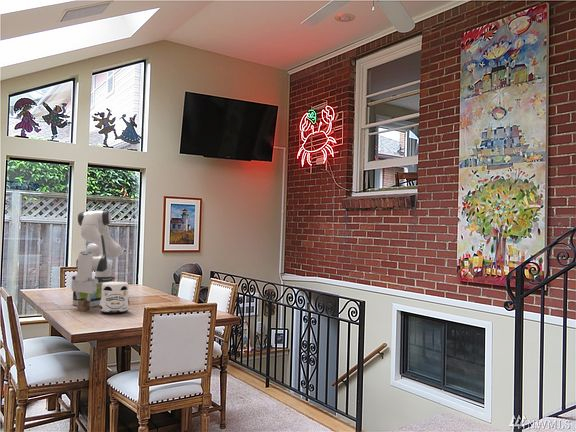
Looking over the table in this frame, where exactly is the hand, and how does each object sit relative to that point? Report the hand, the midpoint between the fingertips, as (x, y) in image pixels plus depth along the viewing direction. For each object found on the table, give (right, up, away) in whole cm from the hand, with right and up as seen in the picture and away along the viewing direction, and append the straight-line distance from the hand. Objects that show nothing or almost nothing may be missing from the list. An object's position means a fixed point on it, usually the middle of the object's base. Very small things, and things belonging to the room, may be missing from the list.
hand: (83, 299), depth 306 cm
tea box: (-5, -7, +17) cm, 19 cm away
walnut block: (0, -6, 0) cm, 6 cm away
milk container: (+21, -7, -4) cm, 22 cm away
